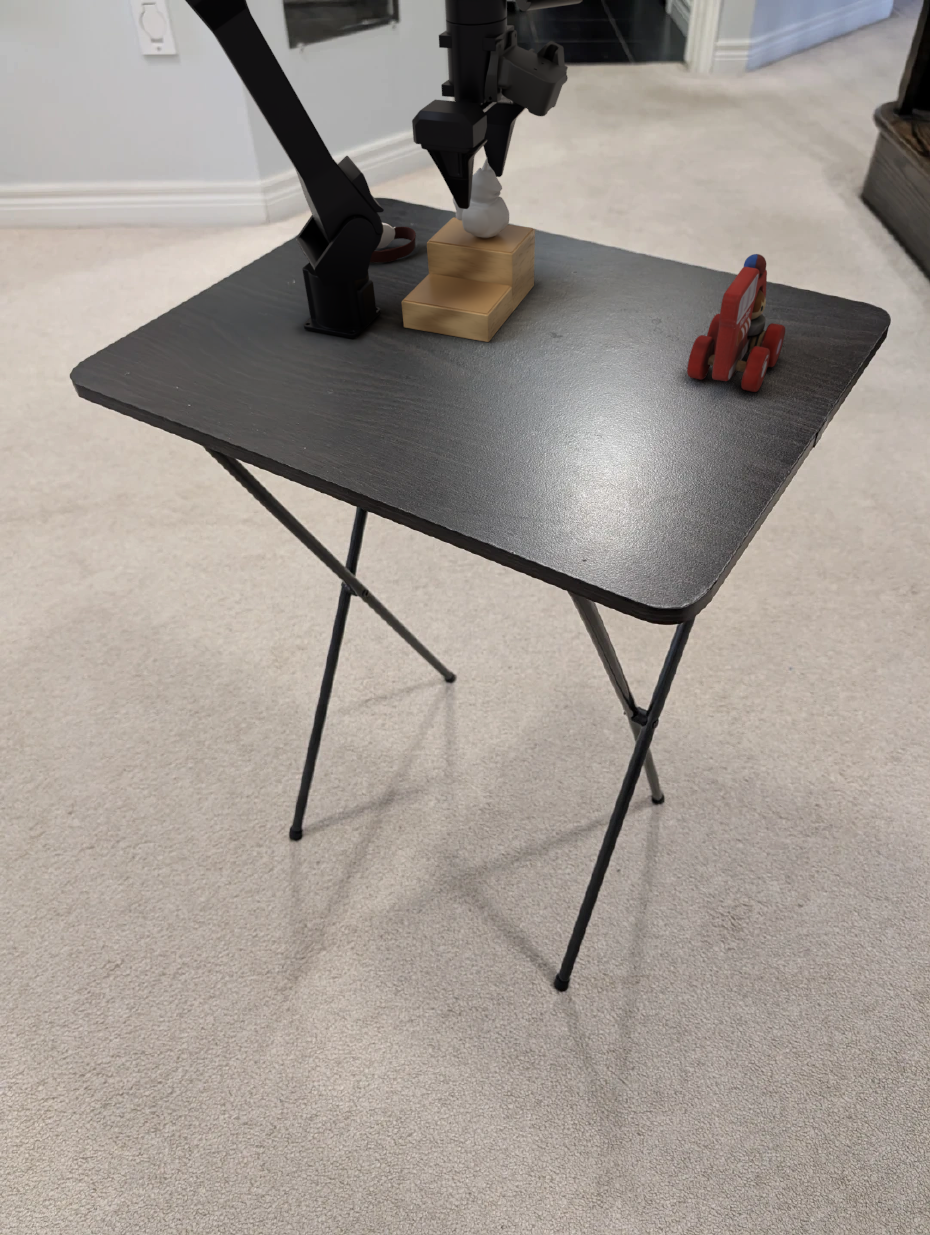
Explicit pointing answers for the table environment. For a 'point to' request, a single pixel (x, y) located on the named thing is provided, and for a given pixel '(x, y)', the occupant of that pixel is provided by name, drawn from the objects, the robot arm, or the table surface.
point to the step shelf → (471, 281)
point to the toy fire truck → (740, 332)
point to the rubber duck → (484, 205)
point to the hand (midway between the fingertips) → (481, 191)
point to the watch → (396, 252)
